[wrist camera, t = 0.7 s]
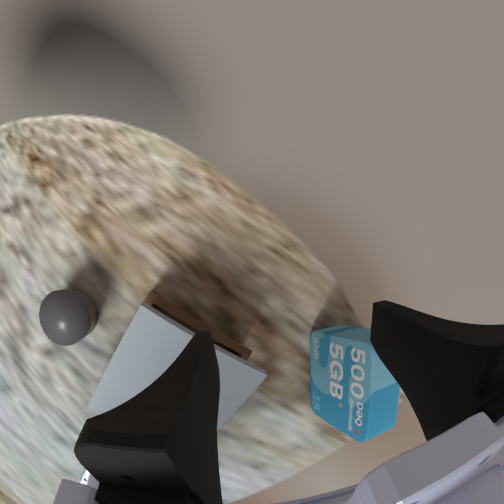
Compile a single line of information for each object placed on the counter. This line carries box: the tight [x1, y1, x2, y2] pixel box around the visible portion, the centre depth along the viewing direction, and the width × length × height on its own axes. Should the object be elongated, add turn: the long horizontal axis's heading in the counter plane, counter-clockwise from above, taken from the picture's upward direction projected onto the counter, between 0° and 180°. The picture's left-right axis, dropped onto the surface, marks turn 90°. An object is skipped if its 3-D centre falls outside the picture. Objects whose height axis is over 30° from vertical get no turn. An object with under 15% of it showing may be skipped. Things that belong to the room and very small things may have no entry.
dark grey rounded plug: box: [39, 290, 97, 346], centre depth 23 cm, size 5×5×5 cm
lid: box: [87, 302, 268, 431], centre depth 22 cm, size 14×12×1 cm
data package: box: [310, 325, 400, 442], centre depth 29 cm, size 12×4×12 cm, turn 3°
